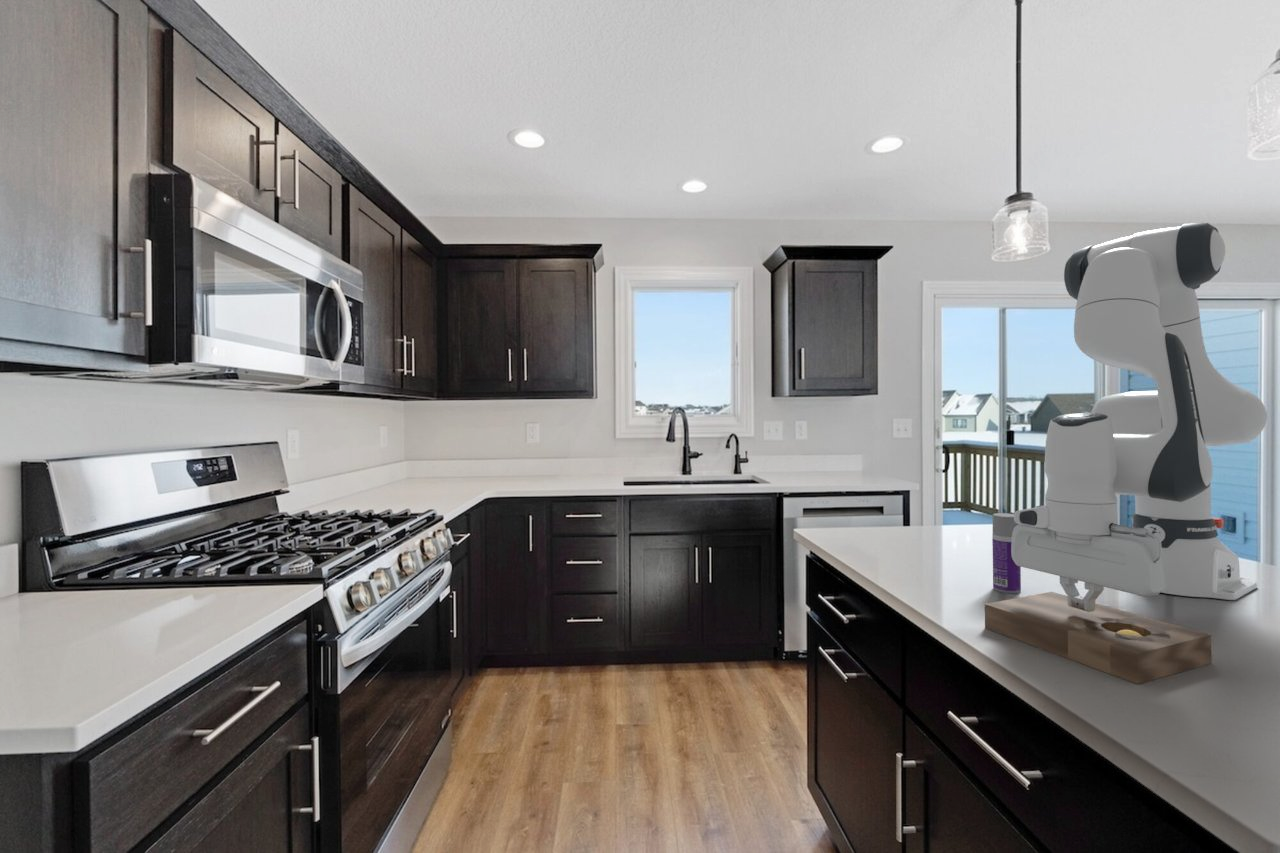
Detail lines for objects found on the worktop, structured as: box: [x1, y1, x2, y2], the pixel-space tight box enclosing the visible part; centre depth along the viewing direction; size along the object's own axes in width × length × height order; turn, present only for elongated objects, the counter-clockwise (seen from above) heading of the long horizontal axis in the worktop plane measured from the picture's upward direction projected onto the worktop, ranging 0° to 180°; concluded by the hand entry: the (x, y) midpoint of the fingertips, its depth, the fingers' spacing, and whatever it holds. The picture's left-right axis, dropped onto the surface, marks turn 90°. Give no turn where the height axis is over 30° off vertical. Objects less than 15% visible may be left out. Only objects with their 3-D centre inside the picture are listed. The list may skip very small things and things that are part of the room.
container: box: [991, 512, 1022, 595], centre depth 116 cm, size 5×5×15 cm
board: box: [984, 591, 1213, 685], centre depth 89 cm, size 16×22×4 cm
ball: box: [1116, 630, 1142, 636], centre depth 83 cm, size 4×4×4 cm
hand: (1081, 608), depth 89 cm, fingers closed
